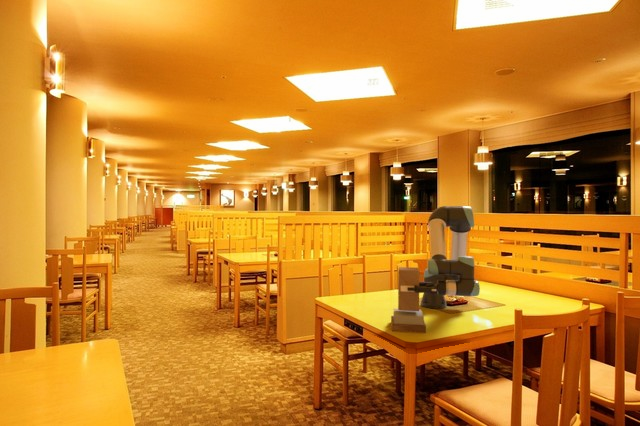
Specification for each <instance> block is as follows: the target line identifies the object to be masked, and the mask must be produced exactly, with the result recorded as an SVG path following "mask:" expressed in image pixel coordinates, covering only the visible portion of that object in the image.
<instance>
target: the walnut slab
mask: <svg viewBox="0 0 640 426" xmlns="http://www.w3.org/2000/svg"><path fill="white" fill-rule="evenodd" d="M390 318H391V319H390V325H391V332H395V333H396V332H398V333H416V334H418V333H420V334H427V326H426V322H425V321H424V325H410V324H394V316H393V315H391V316H390Z"/></svg>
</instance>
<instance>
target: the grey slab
mask: <svg viewBox="0 0 640 426" xmlns="http://www.w3.org/2000/svg"><path fill="white" fill-rule="evenodd" d="M392 313H393V315H392V316H394V324H410V325H424V322H425V320H424V319H425V317H424V316H425V315H424V313H423V311H422V309H419V311H402V310H398V308H393V312H392Z"/></svg>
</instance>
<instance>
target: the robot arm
mask: <svg viewBox="0 0 640 426" xmlns="http://www.w3.org/2000/svg"><path fill="white" fill-rule="evenodd" d="M427 226H428V229H429V234H430V235H429V236H430V237H429V238H430V240H429V241H430V258H429V259H427V268H426V269H425V270H424V272H423V281H419V286H416V285H414V286H400V291H405V292H416V293H419V294H422V297H421V300H420V306H421V307H422V308H428V309H444V308H447V301H446V298H445V296H448V297H449V296H450V297H451V298H452V297H453V296H454V297H455V296H457V297H478V296H479V295H480V292H481V291H480V290H481V289H480V282H479V281H478V280H476V279H475V267H476V266H475V258H474V257H473V256H469V255H467V249H468V235H469V232H471V230H472V228H474V227H475V217H474V211H473V208H472V207H471V206H467V205H452V206H451V205H448V206H447V205H442V206H439V207H437V208H435V209H434V210H433V211H432V212H431V214H430V215H429V217H428V220H427ZM446 228H448V229H449V230H450V231H451V243H450V244H451V245H450V246H451V247H450V259H447V246H446V245H447V244H446V232H445V231H446V230H445V229H446Z"/></svg>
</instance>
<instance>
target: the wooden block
mask: <svg viewBox="0 0 640 426" xmlns="http://www.w3.org/2000/svg"><path fill="white" fill-rule="evenodd" d="M419 269H420V268H419V267H408V266H407V267H405V266H404V267H403V266H400V267H399V266H398V270H397V271H398V275H397V276H398V279H397V280H398V283H397V285H398V288H397V290H398V293H397V294H398V297H397V298H398V300H397V303H398V304H397V309H398V310H402V311H419V310H420V293H416V292H405V291H400V286H414V285H416V286H419V282H420V270H419Z"/></svg>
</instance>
